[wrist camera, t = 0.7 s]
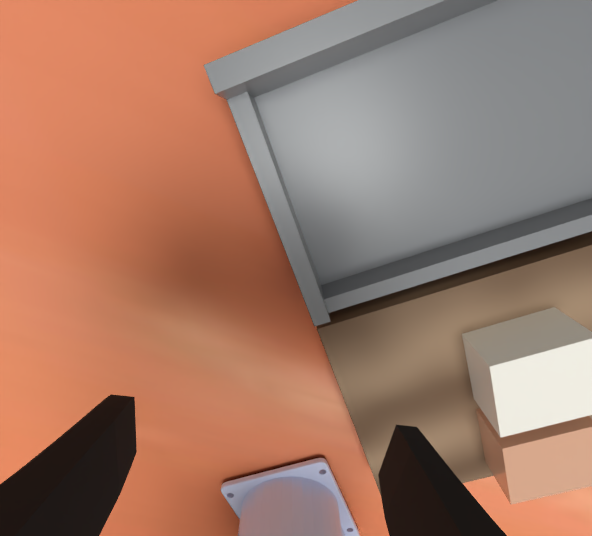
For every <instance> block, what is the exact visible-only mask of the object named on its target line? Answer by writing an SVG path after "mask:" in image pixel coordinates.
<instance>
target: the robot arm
mask: <svg viewBox="0 0 592 536" xmlns="http://www.w3.org/2000/svg"><path fill="white" fill-rule="evenodd" d="M135 455H136V427H135V401H134V397H129V396H119V395H110V396H108V397H107V398H106V399H104V400H103V401H102V402H101V403H100V404H99V405H97V406H96V407H95V408H94V409H93V410H91V411H90V412H89V413H88V414H87V415H86V416H84V417H83V418H82V419H81V420H80V421H79V422H77V423H76V424H75V425H74V426H73V427H71V428H70V429H69V430H68V431H67V432H65V433H64V434H63V435H62V436H61V437H59V438H58V439H57V440H56V441H55V442H53V443H52V444H51V445H50V446H48V447H47V448H46V449H45V450H43V451H42V452H41V453H40V454H38V455H37V456H36V457H35V458H34V459H32V460H31V461H30V462H29V463H27V464H26V465H25V466H24V467H22V468H21V469H20V470H19V471H17V472H16V473H15V474H13V475H12V476H11V477H9V478H8V479H7V480H5V481H4V482H3V483H2V484H0V536H99V535H100V533H101V531H102V529H103V527H104V525H105V523H106V521H107V519H108V517H109V515H110V513H111V511H112V509H113V507H114V505H115V503H116V501H117V499H118V497H119V495H120V493H121V490H122V488H123V485H124V483H125V480H126V478H127V475H128V473H129V470H130V468H131V465H132V462H133V460H134V457H135ZM378 477H379V484H380V490H381V497H382V503H383V509H384V515H385V520H386V524H387V528H388V531H389V535H390V536H507V535H506V534H505V533H504V532H503V531H502V530H501V529H500V528H499V526H498V525H497V524H496V523H495V522H494V521H493V520H492V518H491V517H490V516H489V515H488V514H487V513H486V511H485V510H484V509H483V508H482V507H481V505H480V504H479V503H478V502H477V501H476V499H475V498H474V497H473V496H472V495H471V493H470V492H469V491H468V490H467V489H466V487H465V486H464V485H463V484H462V482H461V481H460V480H459V479H458V478H457V476H456V475H455V474H454V473H453V471H452V470H451V469H450V468H449V466H448V465H447V464H446V463H445V461H444V460H443V459H442V458H441V456H440V455H439V454H438V452H437V451H436V450H435V449H434V447H433V446H432V445H431V444H430V442H429V441H428V440H427V439H426V437H425V436H424V435H423V434H422V432H421V431H420V430H419V429H418V428H417V427H414V426H404V425H396V426H395V429H394V432H393V435H392V437H391V440H390V443H389V446H388V449H387V451H386V454H385V457H384V460H383V463H382V465H381V468H380V471H379V474H378ZM221 492H222V494H223V495H224V497H225V498H226V500H227V501H228V503H229V504H230V506H231V507H232V509H233V510H234V512H235V513H236V515H237V516H238V518H239V519H240V523H239V531H238V536H359V531H358V528H357V526H356V524H355V522H354V520H353V517H352V515H351V513H350V511H349V509H348V506H347V504H346V502H345V500H344V498H343V495H342V493H341V491H340V489H339V487H338V484H337V482H336V480H335V478H334V476H333V473H332V471H331V469H330V467H329V465H328V462H327V461H326V459H324V458H316V459H312V460H308V461H304V462H300V463H296V464H293V465H289V466H285V467H281V468H277V469H273V470H269V471H266V472H262V473H258V474H254V475H250V476H246V477H242V478H239V479H235V480H231V481H227V482H224V483H223V484H222V486H221Z"/></svg>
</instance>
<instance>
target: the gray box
mask: <svg viewBox="0 0 592 536" xmlns="http://www.w3.org/2000/svg"><path fill="white" fill-rule="evenodd" d="M204 67H205V70H206V72H207V75H208V77H209V80H210V82H211V85H212V87H213V90H214V92H215V94H216V95H218V96H220V97H222V98H224V99H226V100H227V102H228V104H229V107H230V109H231V112H232V115H233V117H234V120H235V122H236V125H237V127H238V130H239V133H240V135H241V138H242V140H243V143H244V145H245V148H246V151H247V153H248V156H249V158H250V161H251V164H252V166H253V169H254V171H255V174H256V176H257V179H258V182H259V184H260V187H261V189H262V192H263V195H264V197H265V200H266V202H267V205H268V207H269V210H270V213H271V215H272V218H273V220H274V223H275V226H276V228H277V231H278V233H279V236H280V238H281V241H282V244H283V246H284V249H285V251H286V254H287V257H288V259H289V262H290V264H291V267H292V269H293V272H294V275H295V277H296V280H297V282H298V285H299V288H300V290H301V293H302V295H303V298H304V300H305V303H306V306H307V308H308V311H309V313H310V316H311V319H312V321H313V324H314V326H318V325H321V324H324V323H328V322H331V321H330V316H329V313H330V312H333V311H337V310H340V309H343V308H346V307H350V306H353V305H356V304H359V303H362V302H366V301H369V300H372V299H375V298H378V297H382V296H385V295H388V294H391V293H395V292H398V291H401V290H404V289H407V288H411V287H414V286H417V285H420V284H423V283H427V282H430V281H433V280H436V279H440V278H443V277H446V276H449V275H452V274H456V273H459V272H462V271H465V270H468V269H472V268H475V267H478V266H481V265H485V264H488V263H491V262H494V261H497V260H501V259H504V258H507V257H510V256H514V255H517V254H520V253H523V252H526V251H530V250H533V249H536V248H539V247H542V246H546V245H549V244H552V243H555V242H559V241H562V240H565V239H568V238H571V237H575V236H578V235H581V234H584V233H587V232H591V231H592V0H358V1H356V2H353V3H351V4H348V5H346V6H344V7H341V8H339V9H337V10H334V11H332V12H329V13H327V14H325V15H322V16H320V17H317V18H315V19H313V20H310V21H308V22H306V23H303V24H301V25H298V26H296V27H294V28H291V29H289V30H286V31H284V32H282V33H279V34H277V35H275V36H272V37H270V38H267V39H265V40H263V41H260V42H258V43H256V44H253V45H251V46H248V47H246V48H244V49H241V50H239V51H236V52H234V53H232V54H229V55H227V56H225V57H222V58H220V59H217V60H215V61H213V62H210V63H208V64H205V65H204Z"/></svg>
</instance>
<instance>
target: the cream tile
mask: <svg viewBox="0 0 592 536" xmlns="http://www.w3.org/2000/svg"><path fill="white" fill-rule="evenodd" d="M462 338H463V343H464V348H465V354H466V359H467V364H468V370H469V375H470V380H471V386H472V391H473V397H474V400H475V401H476V403H477V404H478V406H479V407H480V408H481V410H482V411H483V413H484V414H485V416H486V417H487V419H488V420H489V422H490V423H491V424H492V426H493V427H494V429H495V430H496V432H497V433H498V435H499V436H500V438H501V437H505V436H509V435H513V434H517V433H521V432H525V431H529V430H533V429H537V428H541V427H545V426H549V425H553V424H557V423H561V422H565V421H569V420H573V419H577V418H581V417H585V416H589V415H592V332H591V331H590V330H588V329H587V328H585V327H584V326H582V325H581V324H579V323H578V322H576V321H575V320H573V319H572V318H570V317H569V316H567V315H566V314H564V313H563V312H561V311H560V310H558V309H557V308H555V307H553V308H549V309H546V310H543V311H539V312H536V313H532V314H529V315H525V316H522V317H518V318H515V319H511V320H508V321H505V322H501V323H498V324H494V325H491V326H487V327H484V328H480V329H477V330H473V331H470V332H467V333H463V334H462Z"/></svg>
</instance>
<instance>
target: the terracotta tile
mask: <svg viewBox="0 0 592 536" xmlns="http://www.w3.org/2000/svg"><path fill="white" fill-rule="evenodd" d="M476 413H477V418H478V423H479V429H480V434H481V440H482V445H483V450H484V456H485V461H486V463H487V465H488V467H489V468H490V470H491V472H492V473H493V475H494V477H495V478H496V480H497V482H498V484H499V485H500V487H501V489H502V490H503V492H504V494H505V495H506V497H507V499H508V500H509V502H510V504H515V503H520V502H524V501H529V500H533V499H537V498H542V497H546V496H551V495H555V494H560V493H564V492H568V491H573V490H577V489H582V488H586V487H590V486H592V419H591V418H590V417H589V416H585V417H581V418H577V419H573V420H569V421H565V422H561V423H557V424H553V425H549V426H545V427H541V428H537V429H533V430H529V431H525V432H521V433H517V434H513V435H509V436H505V437H501V438H500V436H499V435H498V433H497V432H496V430H495V429H494V427H493V426H492V424H491V423H490V422H489V420H488V419H487V417H486V416H485V414H484V413H483V411H482V410H481V408H478V409H476Z"/></svg>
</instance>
